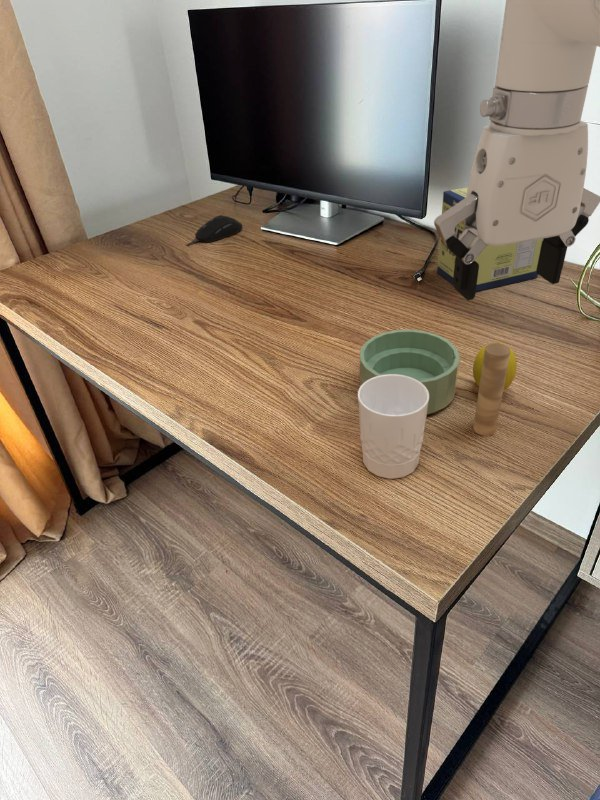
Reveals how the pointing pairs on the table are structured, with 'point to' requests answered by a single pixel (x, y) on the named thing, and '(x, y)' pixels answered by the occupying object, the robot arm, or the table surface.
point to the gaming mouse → (217, 229)
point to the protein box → (491, 255)
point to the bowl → (414, 362)
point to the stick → (491, 388)
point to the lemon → (510, 369)
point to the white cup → (392, 424)
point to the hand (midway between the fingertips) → (506, 286)
